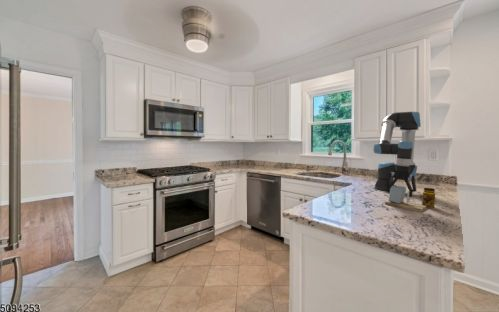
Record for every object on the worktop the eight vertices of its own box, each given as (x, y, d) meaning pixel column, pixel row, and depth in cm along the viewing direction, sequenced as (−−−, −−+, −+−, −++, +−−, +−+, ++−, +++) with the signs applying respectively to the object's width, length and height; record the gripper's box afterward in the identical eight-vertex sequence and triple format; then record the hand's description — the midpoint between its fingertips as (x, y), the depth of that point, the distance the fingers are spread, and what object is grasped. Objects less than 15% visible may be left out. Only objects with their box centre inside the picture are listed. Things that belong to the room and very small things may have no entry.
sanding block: (392, 198, 148) (396, 184, 146) (403, 202, 143) (406, 186, 142) (388, 200, 143) (391, 185, 141) (399, 204, 138) (402, 188, 136)
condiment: (423, 207, 137) (425, 188, 136) (417, 204, 145) (419, 186, 144) (437, 209, 135) (439, 189, 134) (431, 205, 143) (432, 187, 142)
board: (391, 201, 150) (391, 199, 150) (426, 208, 136) (426, 205, 136) (384, 204, 143) (385, 201, 143) (421, 212, 128) (421, 209, 128)
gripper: (382, 163, 145) (378, 196, 148) (422, 168, 128) (417, 205, 131) (386, 162, 150) (382, 194, 152) (426, 167, 133) (421, 203, 135)
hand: (399, 199), depth 142 cm, fingers open, 9 cm apart
